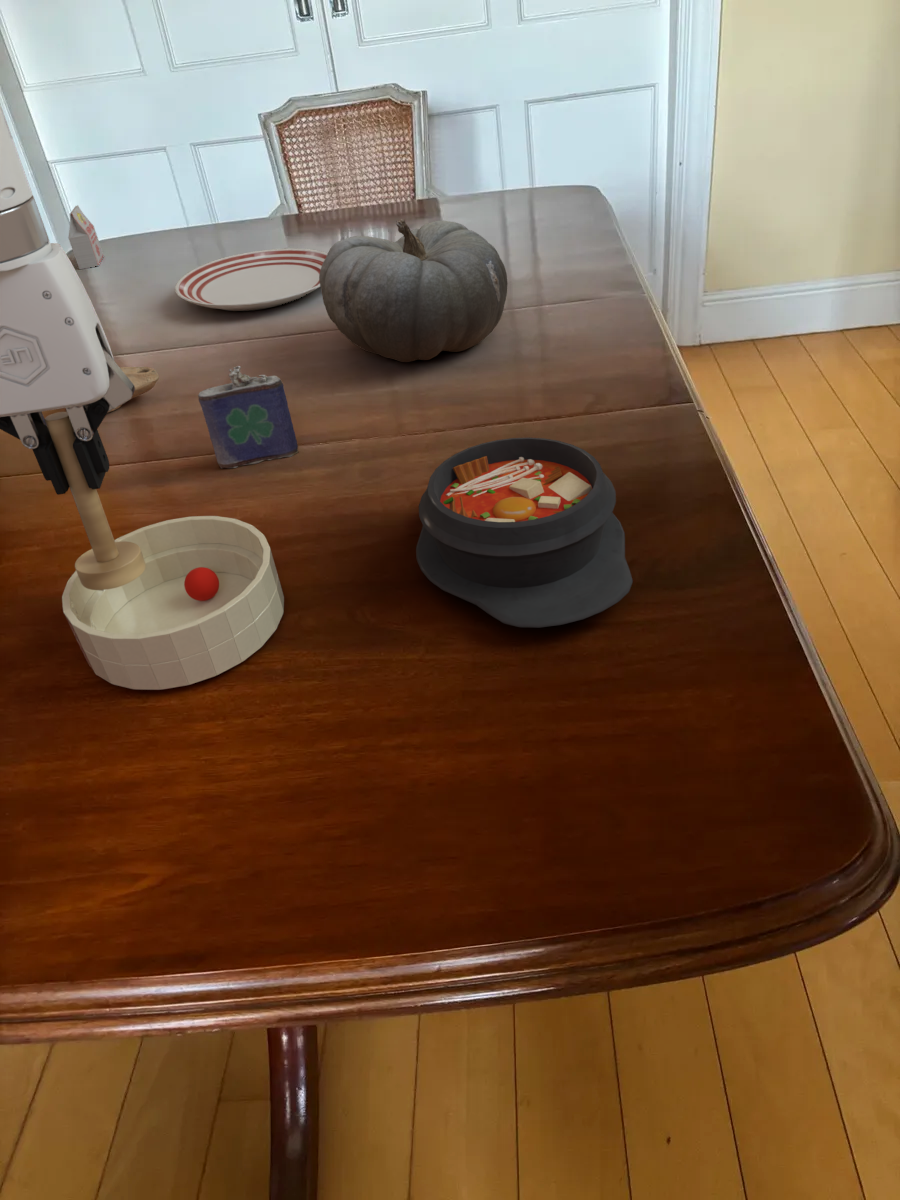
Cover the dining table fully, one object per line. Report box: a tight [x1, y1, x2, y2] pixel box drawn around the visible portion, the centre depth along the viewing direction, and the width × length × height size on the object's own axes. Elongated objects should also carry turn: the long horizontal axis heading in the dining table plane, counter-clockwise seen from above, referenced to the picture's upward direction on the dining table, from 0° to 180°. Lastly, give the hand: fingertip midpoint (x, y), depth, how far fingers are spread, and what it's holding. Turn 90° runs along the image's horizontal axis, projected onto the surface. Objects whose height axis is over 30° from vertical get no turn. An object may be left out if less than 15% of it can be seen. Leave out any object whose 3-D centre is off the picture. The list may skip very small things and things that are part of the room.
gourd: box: [319, 218, 508, 363], centre depth 120 cm, size 25×25×17 cm
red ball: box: [184, 567, 219, 601], centre depth 80 cm, size 3×3×3 cm
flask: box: [197, 365, 299, 469], centre depth 99 cm, size 9×3×11 cm, turn 102°
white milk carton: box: [67, 204, 105, 270], centre depth 173 cm, size 4×7×10 cm, turn 9°
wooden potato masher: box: [44, 411, 146, 590], centre depth 70 cm, size 5×5×14 cm
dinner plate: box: [174, 247, 328, 312], centre depth 149 cm, size 27×27×3 cm
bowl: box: [61, 515, 285, 691], centre depth 77 cm, size 17×17×6 cm
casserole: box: [415, 437, 634, 629], centre depth 78 cm, size 25×19×8 cm
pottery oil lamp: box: [108, 366, 160, 413], centre depth 117 cm, size 9×12×7 cm
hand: (82, 481), depth 69 cm, fingers closed on wooden potato masher
